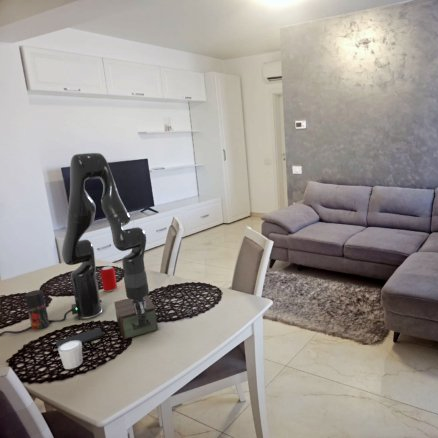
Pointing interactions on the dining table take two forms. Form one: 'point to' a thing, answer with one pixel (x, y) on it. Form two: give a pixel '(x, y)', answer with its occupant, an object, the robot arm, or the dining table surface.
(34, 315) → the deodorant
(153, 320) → the drawer
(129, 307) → the cabinet
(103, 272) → the beverage can
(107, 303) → the dining table surface
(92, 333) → the phone
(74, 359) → the white cup
